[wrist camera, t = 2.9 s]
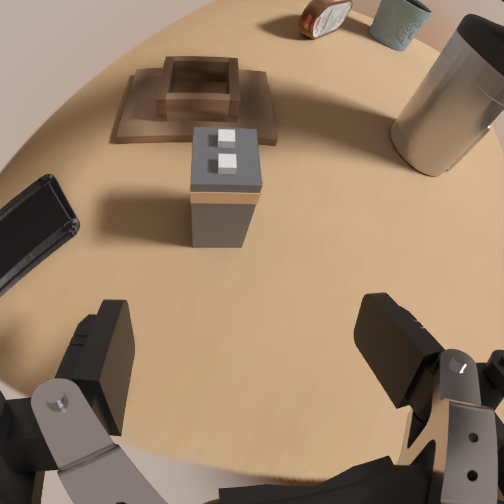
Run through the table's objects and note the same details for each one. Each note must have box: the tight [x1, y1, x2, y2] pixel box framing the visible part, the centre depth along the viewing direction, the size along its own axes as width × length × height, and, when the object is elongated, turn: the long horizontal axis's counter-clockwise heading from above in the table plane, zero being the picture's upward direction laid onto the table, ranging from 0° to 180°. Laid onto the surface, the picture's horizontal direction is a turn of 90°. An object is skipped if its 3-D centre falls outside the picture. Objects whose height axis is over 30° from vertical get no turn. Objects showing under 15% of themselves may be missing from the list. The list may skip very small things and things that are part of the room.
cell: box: [190, 127, 262, 248], centre depth 22 cm, size 4×5×10 cm
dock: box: [116, 56, 277, 145], centre depth 29 cm, size 16×12×4 cm
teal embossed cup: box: [369, 0, 432, 51], centre depth 43 cm, size 10×10×12 cm
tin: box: [298, 0, 352, 39], centre depth 40 cm, size 15×3×8 cm, turn 142°
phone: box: [0, 174, 80, 297], centre depth 22 cm, size 8×1×15 cm
